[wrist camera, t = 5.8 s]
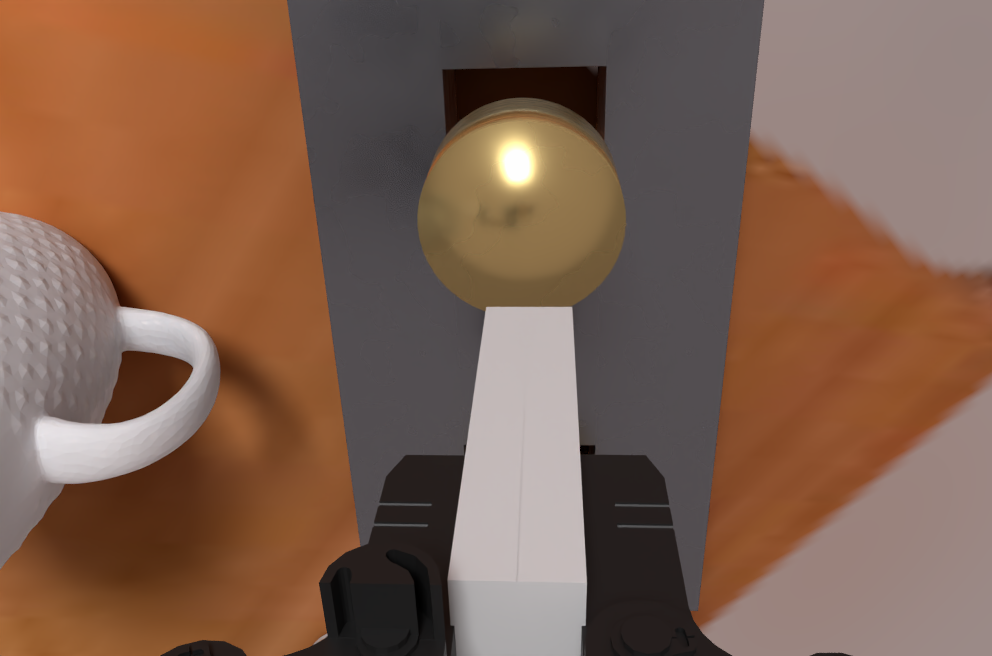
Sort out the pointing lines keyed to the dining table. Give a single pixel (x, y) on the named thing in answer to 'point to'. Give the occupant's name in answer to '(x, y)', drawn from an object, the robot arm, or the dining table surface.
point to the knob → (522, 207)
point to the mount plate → (603, 313)
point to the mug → (78, 375)
